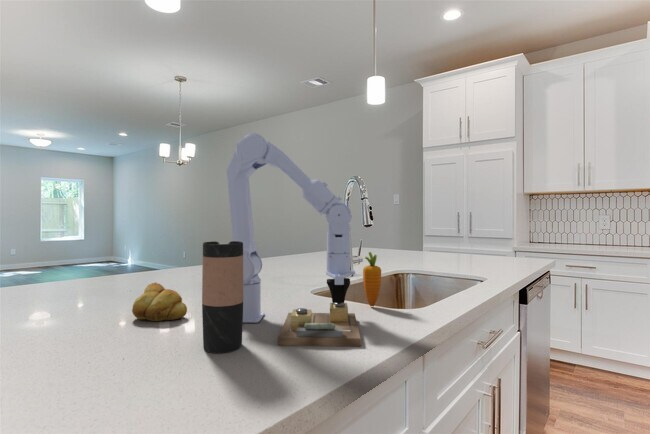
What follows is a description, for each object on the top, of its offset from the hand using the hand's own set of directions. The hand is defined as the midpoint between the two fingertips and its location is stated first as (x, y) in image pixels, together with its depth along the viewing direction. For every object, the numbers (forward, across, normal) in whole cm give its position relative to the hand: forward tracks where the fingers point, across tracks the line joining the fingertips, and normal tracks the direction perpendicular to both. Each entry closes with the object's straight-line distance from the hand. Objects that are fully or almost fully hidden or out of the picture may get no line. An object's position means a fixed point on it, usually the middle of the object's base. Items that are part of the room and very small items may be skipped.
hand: (338, 309), depth 90 cm
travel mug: (+3, -18, +23) cm, 29 cm away
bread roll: (+3, 0, +43) cm, 43 cm away
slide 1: (+1, -11, +8) cm, 13 cm away
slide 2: (+1, -4, 0) cm, 5 cm away
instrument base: (+3, -8, +4) cm, 10 cm away
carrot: (+3, +12, -10) cm, 16 cm away
